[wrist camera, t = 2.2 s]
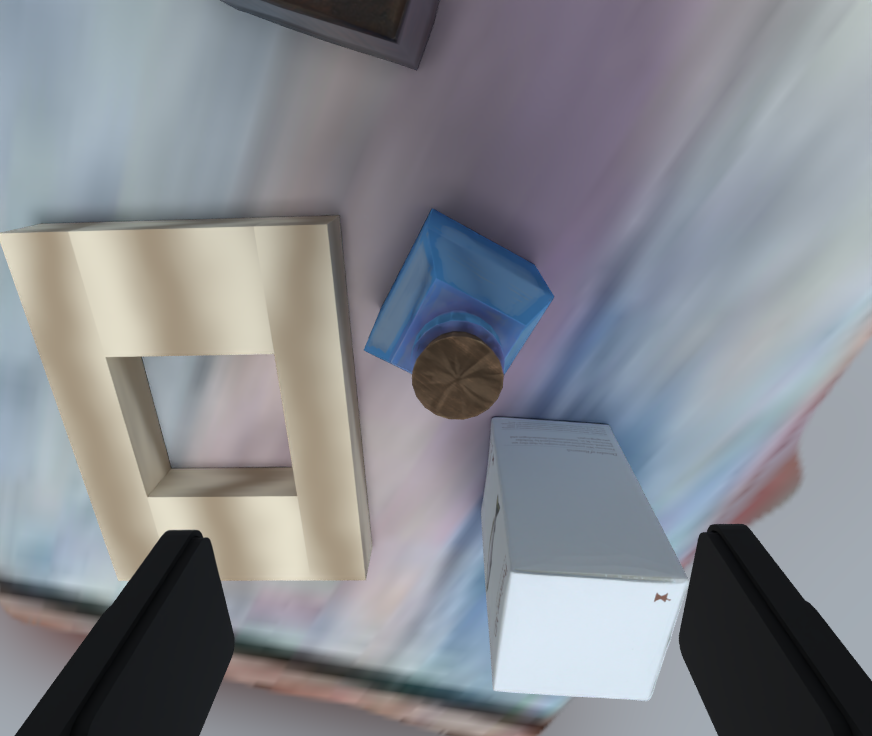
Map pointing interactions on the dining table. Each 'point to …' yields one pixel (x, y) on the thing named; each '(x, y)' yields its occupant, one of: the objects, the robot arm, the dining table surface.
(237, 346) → the hole board
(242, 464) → the dining table surface
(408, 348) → the perfume bottle
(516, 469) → the supplement box
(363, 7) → the coffee grinder
